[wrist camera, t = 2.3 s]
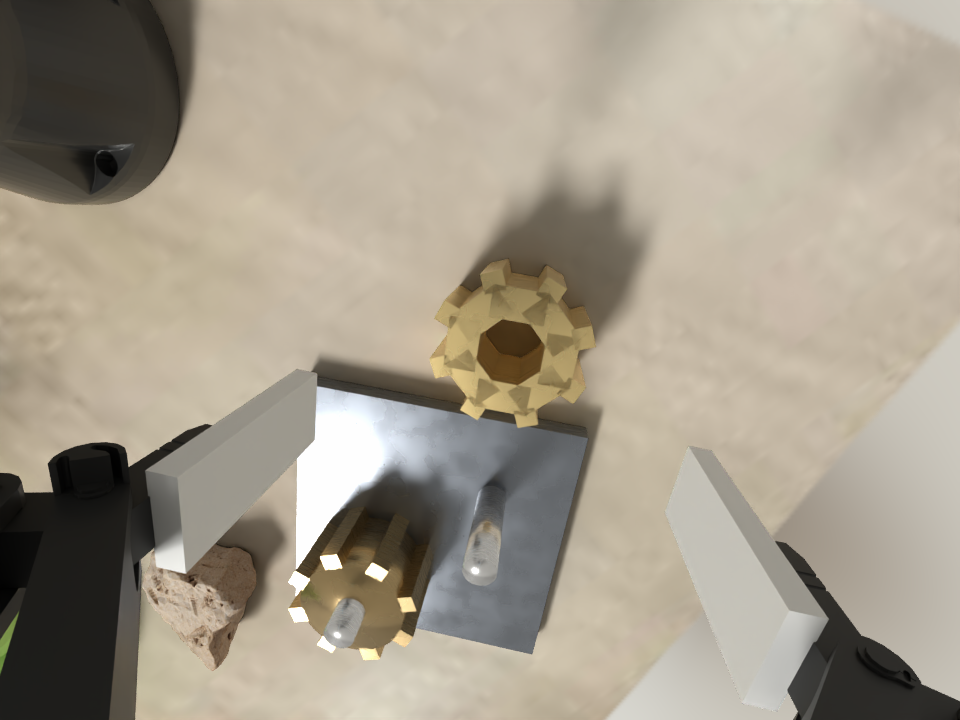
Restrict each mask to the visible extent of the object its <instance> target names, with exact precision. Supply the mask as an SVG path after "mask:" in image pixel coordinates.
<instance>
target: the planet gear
mask: <svg viewBox="0 0 960 720" xmlns="http://www.w3.org/2000/svg"><path fill="white" fill-rule="evenodd" d="M480 277H481V281H482V286H480V287H479V288H477V289H476V290H475V291H473V292H471V291H469V290H468V289H466V288H465V287H463V286H461V285H460V286H459V287H458V288H457V289H456V290H455V291H454V292H452V293H451V294H450V295H449V296H448V297H447V298H446V299H445V301H444V302H443V304H442V306H441V308H440V309H439V311H438V313H437V314H436V316H435V318H434V319H436V320H438V321H439V322H441V323H442V324H444V325H446V326H447V327H448V333H447V335H446V337H445V338H444V339H443V341H442V342H441V344H440V345H439V346H438V348H437V349H436V350H435V352H434V353H433V355H432V356H431V357H430V362H431V365H432V369H433V372H434V376H435V378H439V377H444V376H449V375H450V376H451V377H452V378H453V380H454V381H455V382H456V383H457V385H458V386H459V387H460V389H461V390H462V391H463V392H464V394H465V395H466V396H465V399H464V401H463V404H462V406H461V409H460V410H461V411H463V412H465V413H466V414H468V415H470V416H471V417H473V418H475V419H476V420H478V419H479V418H480V416H481V415H482V413H483V412H484V410H485V409H490V410H495V411H500V412H505V413H511V414H514V415H515V419H516V423H517V427H518V428H521V427H527V426H533V425H538V408H540V407H542V406H543V405H545V404H547V403H548V402H550V401H552V400H553V399H555V398H557V397H558V396H561V397H563V398H564V399H566V400H568V401H569V402H571V403H573V404H574V402H575V401H576V400H577V398H578V397H579V396H580V395H581V393H582V392H583V391H584V389H585V388H586V386H585V382H584V378H583V374H582V370H581V366H580V361H579V358H577V356H578V352H579V350H583V349H589V348H594V347H596V345H595V339H594V334H593V328H592V324H591V322H590V320H589V317H588V315H587V313H586V310H585V308H584V306H581V307H576V308H572V309H569V308H568V306H567V305H566V303H565V302H564V300H563V299H562V298H561V297H562V296H563V294H564V293H565V291H566V290H567V287H566V284H565V281H564V278H563V275H562V274H560V273H559V272H557V271H556V270H554V269H552V268H551V267H549V266H548V265H546V266H545V268H544V269H543V271H542V272H541V274H540V275H539V277H535V276H529V275H523V274H517V273H512V271H511V267H510V262H509V258H508V259H504V260H500V261H496V262H492V263H489V265H488V266H487V267H486V268H485V269H484V270H483V271H482V272H481V274H480ZM502 319H503V320H509V321H515V322H521V323H526V324H530V325H531V327H532V328H533V329H534V331H535V332H536V334H537V335H538V336H539V338H540V339H541V344H540V346H538V347H537V348H535V349H534V350H532V351H531V352H529V353H527V354H526V355H524V356H523V357H517V356H512V355H506V354H500V353H499V352H498V351H497V349H496V348H495V347H494V345H493V344H492V342H491V341H490V340H489V338H488V337H487V336H486V335H487V329H489V328H490V327H492V326H493V325H495V324H496V323H498V322H499V321H501V320H502Z"/></svg>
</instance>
